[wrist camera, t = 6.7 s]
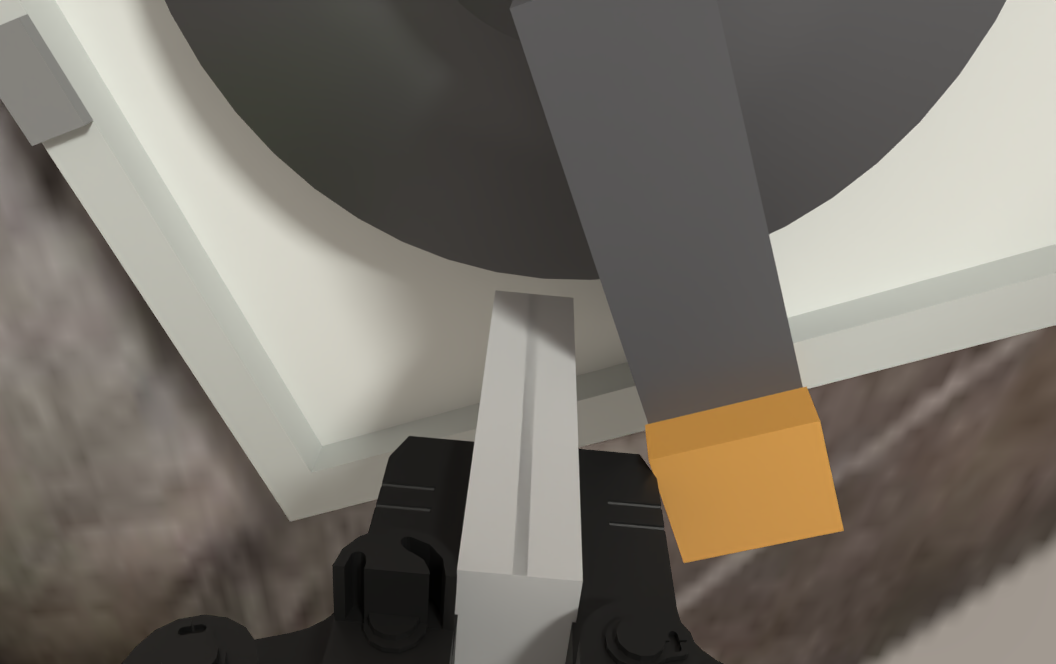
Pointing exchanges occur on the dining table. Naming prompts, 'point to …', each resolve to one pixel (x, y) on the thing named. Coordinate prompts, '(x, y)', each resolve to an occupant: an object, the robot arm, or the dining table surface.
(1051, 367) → the dining table surface
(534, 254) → the dial
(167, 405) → the dining table surface
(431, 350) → the panel
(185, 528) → the dining table surface
